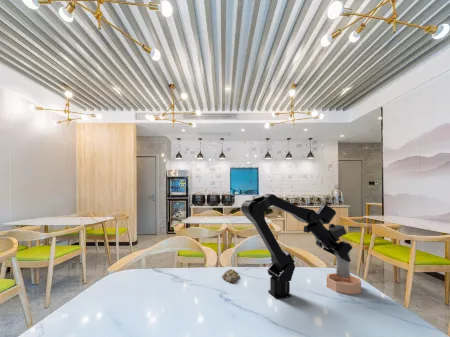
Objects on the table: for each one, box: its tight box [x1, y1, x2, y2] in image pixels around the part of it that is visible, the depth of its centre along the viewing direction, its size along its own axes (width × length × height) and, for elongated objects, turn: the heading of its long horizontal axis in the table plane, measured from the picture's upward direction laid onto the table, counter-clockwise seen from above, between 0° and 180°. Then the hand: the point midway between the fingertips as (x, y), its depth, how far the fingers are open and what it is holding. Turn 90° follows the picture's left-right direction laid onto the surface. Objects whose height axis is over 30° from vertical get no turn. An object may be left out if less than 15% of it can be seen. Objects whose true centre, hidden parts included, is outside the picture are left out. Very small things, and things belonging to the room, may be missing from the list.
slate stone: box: [335, 250, 351, 278], centre depth 104 cm, size 5×5×12 cm
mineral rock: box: [221, 269, 241, 284], centre depth 111 cm, size 11×4×8 cm
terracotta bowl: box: [326, 272, 362, 295], centre depth 103 cm, size 13×13×4 cm
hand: (345, 259), depth 104 cm, fingers closed on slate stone, 5 cm apart
